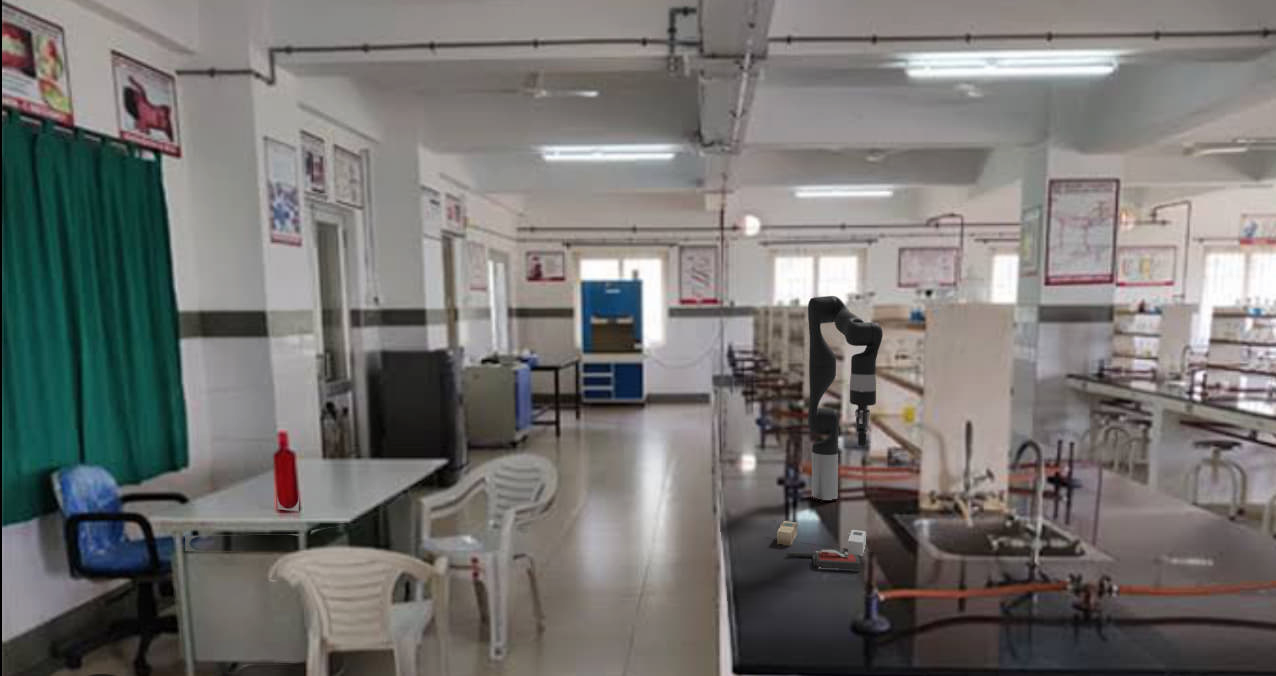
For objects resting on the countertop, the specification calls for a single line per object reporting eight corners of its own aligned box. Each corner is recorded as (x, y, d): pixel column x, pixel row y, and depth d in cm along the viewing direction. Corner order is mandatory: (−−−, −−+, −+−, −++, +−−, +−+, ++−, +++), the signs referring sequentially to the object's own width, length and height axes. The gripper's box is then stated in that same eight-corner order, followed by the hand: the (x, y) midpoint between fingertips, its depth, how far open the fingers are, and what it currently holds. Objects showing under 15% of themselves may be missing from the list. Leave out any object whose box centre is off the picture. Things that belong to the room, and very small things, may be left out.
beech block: (784, 520, 202) (777, 530, 193) (797, 522, 200) (790, 532, 191) (783, 533, 202) (777, 544, 193) (797, 535, 200) (790, 546, 191)
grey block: (851, 529, 194) (848, 540, 185) (866, 531, 192) (862, 542, 183) (851, 542, 194) (847, 554, 185) (865, 544, 192) (862, 556, 183)
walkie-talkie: (859, 561, 182) (786, 557, 185) (860, 545, 182) (786, 541, 185) (865, 574, 173) (788, 569, 176) (865, 557, 173) (788, 553, 176)
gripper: (852, 385, 205) (851, 439, 206) (847, 390, 193) (846, 448, 194) (877, 386, 202) (876, 441, 203) (874, 392, 190) (873, 451, 191)
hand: (862, 445), depth 199 cm, fingers closed
